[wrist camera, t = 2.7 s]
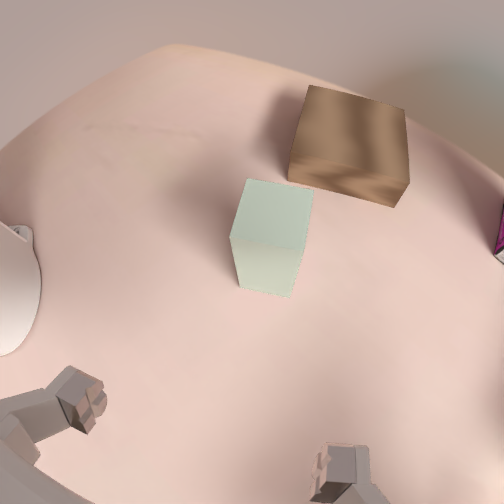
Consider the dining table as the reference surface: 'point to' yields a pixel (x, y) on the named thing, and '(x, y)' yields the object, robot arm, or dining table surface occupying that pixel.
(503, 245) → the candy bar box
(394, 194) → the walnut block
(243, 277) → the sage pillar
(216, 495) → the dining table surface
